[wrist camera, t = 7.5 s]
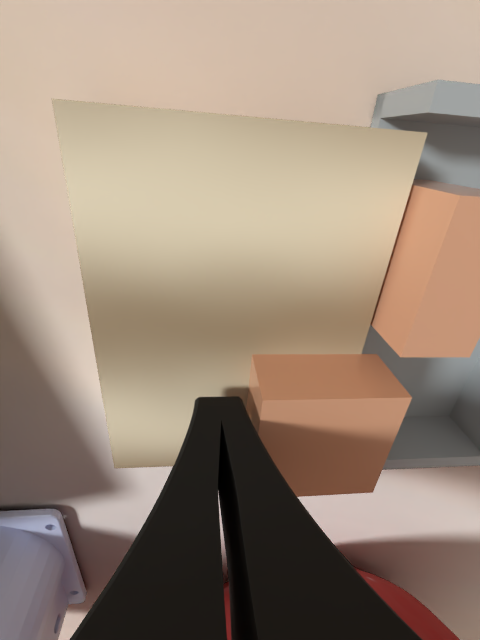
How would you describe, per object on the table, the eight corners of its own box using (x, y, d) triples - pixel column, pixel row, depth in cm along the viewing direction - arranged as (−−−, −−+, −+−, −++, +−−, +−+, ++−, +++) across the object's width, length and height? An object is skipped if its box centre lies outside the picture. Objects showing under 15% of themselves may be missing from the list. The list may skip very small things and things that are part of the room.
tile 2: (343, 293, 12) (394, 295, 12) (400, 357, 9) (469, 357, 9) (371, 175, 10) (431, 180, 10) (460, 195, 7) (547, 200, 7)
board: (308, 405, 15) (329, 459, 13) (130, 408, 14) (114, 468, 12) (369, 134, 10) (427, 132, 7) (95, 110, 9) (51, 98, 6)
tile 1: (348, 442, 12) (372, 492, 11) (242, 445, 12) (249, 499, 10) (376, 353, 10) (412, 397, 9) (251, 354, 10) (262, 400, 8)
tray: (448, 417, 17) (491, 464, 14) (304, 420, 16) (323, 472, 13) (602, 117, 10) (724, 111, 8) (378, 94, 10) (437, 79, 7)
